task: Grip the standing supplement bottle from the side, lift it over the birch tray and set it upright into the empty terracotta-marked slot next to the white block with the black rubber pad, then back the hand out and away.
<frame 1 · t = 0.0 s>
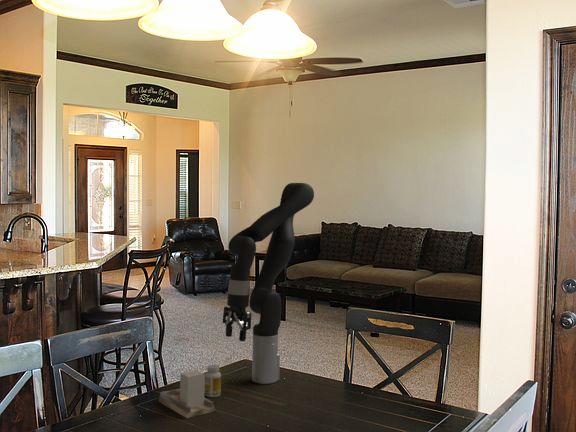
hand: (235, 338, 217), 17 cm above the table, tool pointing down, fingers open, 8 cm apart
white padded block: (191, 389, 194), in the birch tray, point 6 cm above the table
birch tray: (186, 406, 197), on the table
supplement bottle: (212, 395, 209), on the table
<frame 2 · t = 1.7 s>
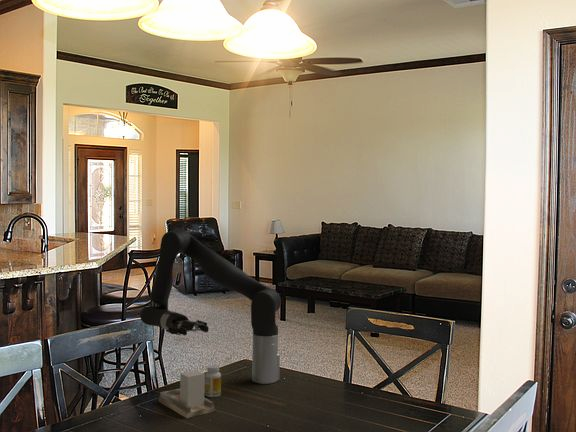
hand: (196, 331, 217), 20 cm above the table, tool horizontal, fingers open, 8 cm apart
nothing on the table moved.
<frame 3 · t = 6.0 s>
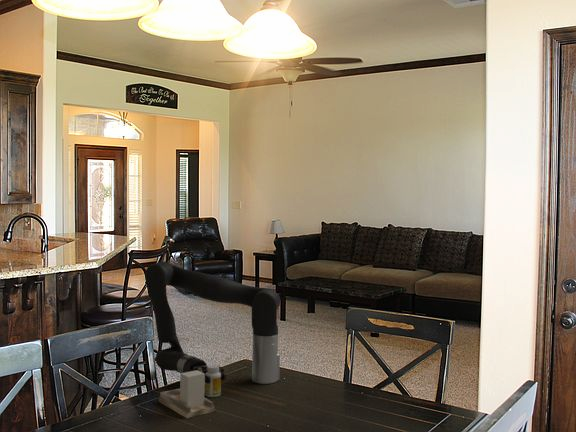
hand: (217, 378, 207), 6 cm above the table, tool horizontal, fingers closed on supplement bottle, 5 cm apart
supplement bottle: (212, 395, 209), on the table, touching gripper
when the fingers open (9 cm above the table, at t = 11.1 s): supplement bottle drops 1 cm, resting on birch tray.
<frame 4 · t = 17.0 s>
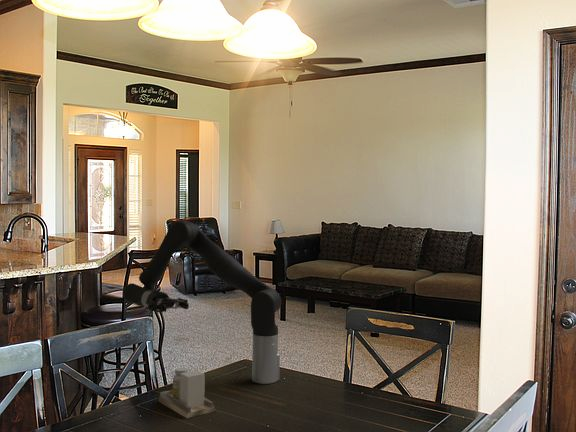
hand: (176, 307, 216), 28 cm above the table, tool horizontal, fingers open, 8 cm apart
supplement bottle: (181, 399, 199), point 1 cm above the table, touching birch tray
at the end: supplement bottle 0.1 cm from the target spot on the birch tray, point 1.4 cm above the birch tray's base; supplement bottle tilted 0°; the gripper is holding nothing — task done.
